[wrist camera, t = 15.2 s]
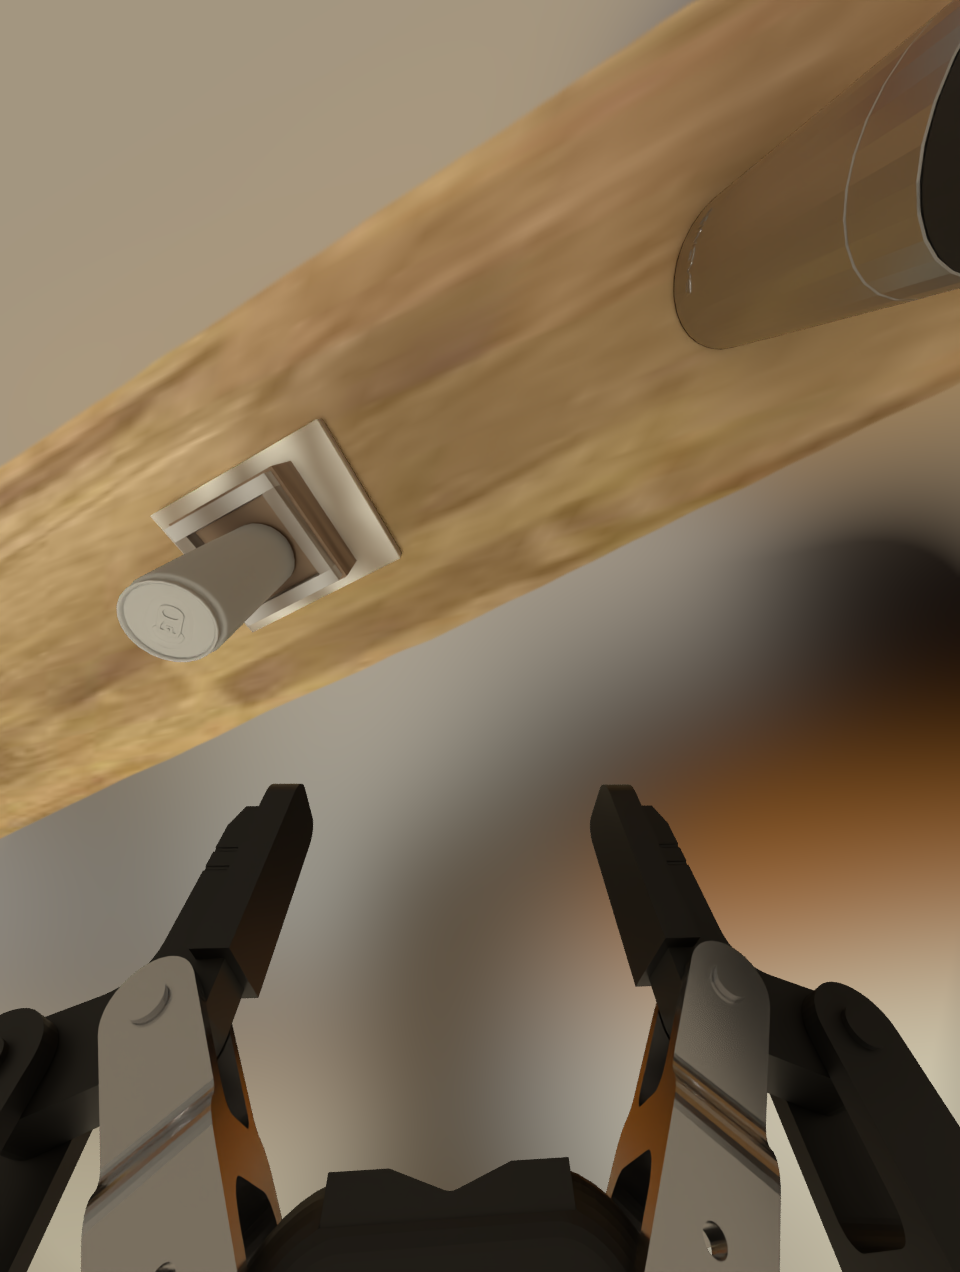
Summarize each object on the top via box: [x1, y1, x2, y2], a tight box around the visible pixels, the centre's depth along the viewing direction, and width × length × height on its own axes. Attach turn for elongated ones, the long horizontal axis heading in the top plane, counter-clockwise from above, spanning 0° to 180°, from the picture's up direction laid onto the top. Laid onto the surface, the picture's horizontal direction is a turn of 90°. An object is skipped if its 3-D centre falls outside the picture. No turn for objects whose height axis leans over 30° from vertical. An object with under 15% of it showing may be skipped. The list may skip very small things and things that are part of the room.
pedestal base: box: [151, 419, 402, 632], centre depth 32 cm, size 16×12×7 cm
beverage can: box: [117, 523, 295, 662], centre depth 25 cm, size 5×5×12 cm
